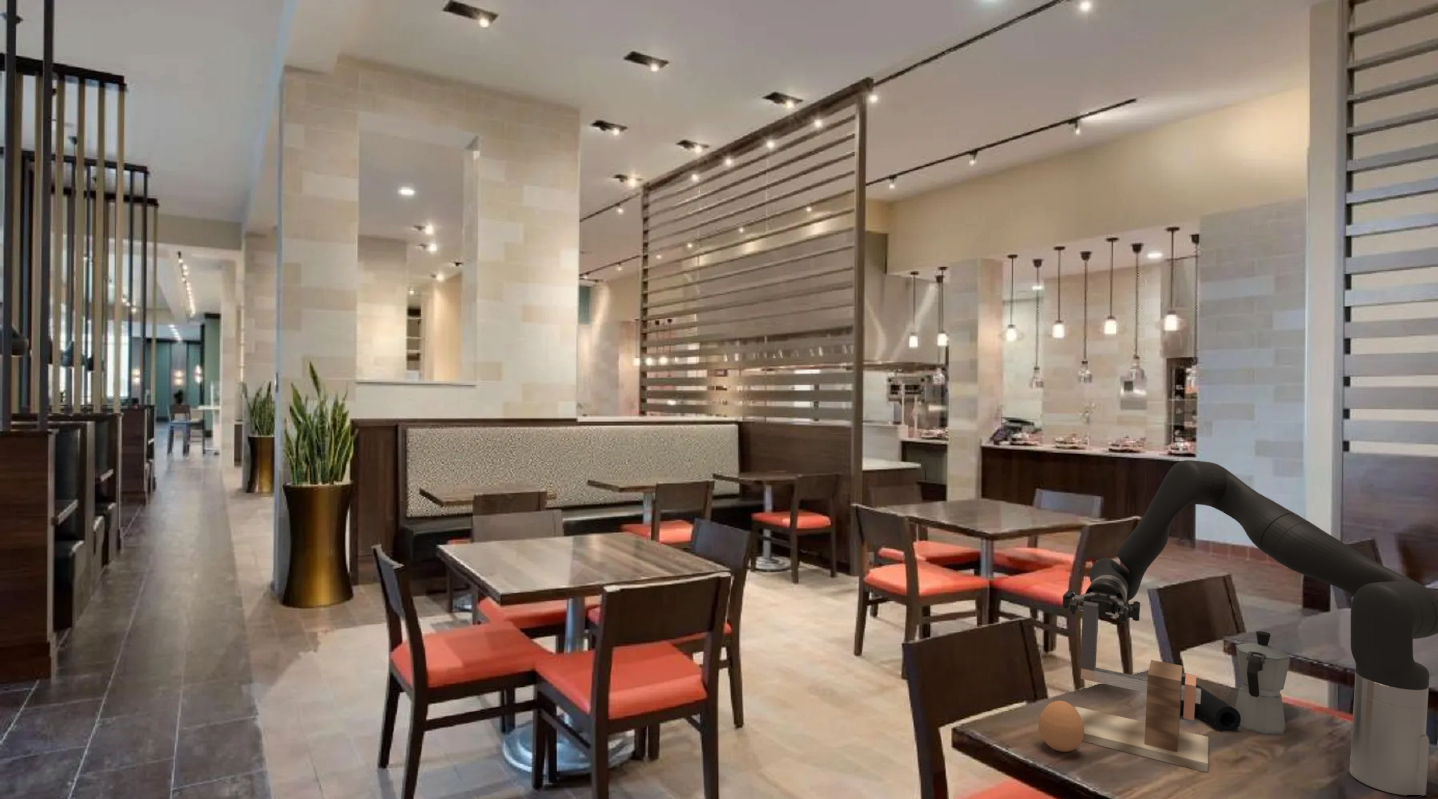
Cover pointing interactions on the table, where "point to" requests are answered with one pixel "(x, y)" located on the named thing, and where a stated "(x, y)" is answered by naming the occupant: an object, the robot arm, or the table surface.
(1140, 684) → the gray l-shaped bracket
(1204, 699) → the pipe connector
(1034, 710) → the table surface
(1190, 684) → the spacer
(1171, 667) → the block
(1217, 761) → the table surface
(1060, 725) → the egg
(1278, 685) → the coffee maker
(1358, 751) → the robot arm
